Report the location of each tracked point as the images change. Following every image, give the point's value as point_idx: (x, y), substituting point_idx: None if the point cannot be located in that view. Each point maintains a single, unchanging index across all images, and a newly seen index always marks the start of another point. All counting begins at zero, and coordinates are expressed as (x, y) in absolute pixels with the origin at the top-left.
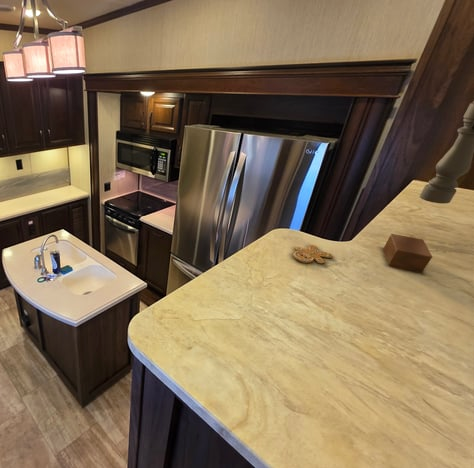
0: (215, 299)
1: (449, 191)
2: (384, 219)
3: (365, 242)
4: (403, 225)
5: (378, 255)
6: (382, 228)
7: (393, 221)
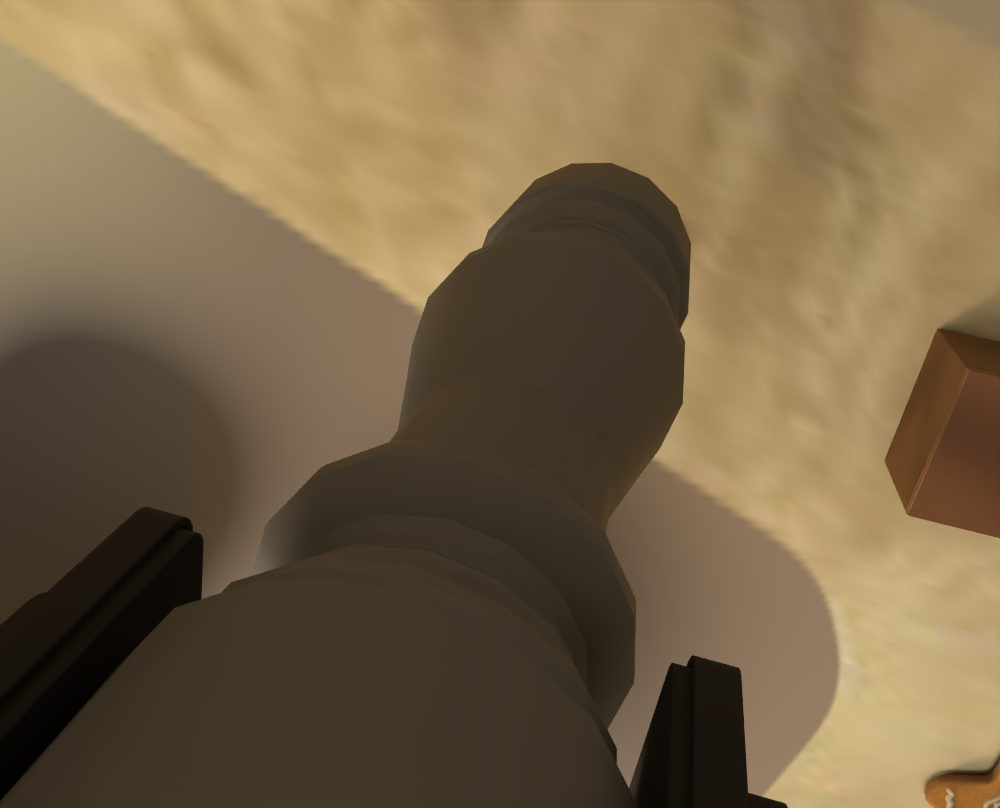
0: None
1: (681, 277)
2: None
3: (819, 521)
4: None
5: None
6: None
7: (461, 253)
